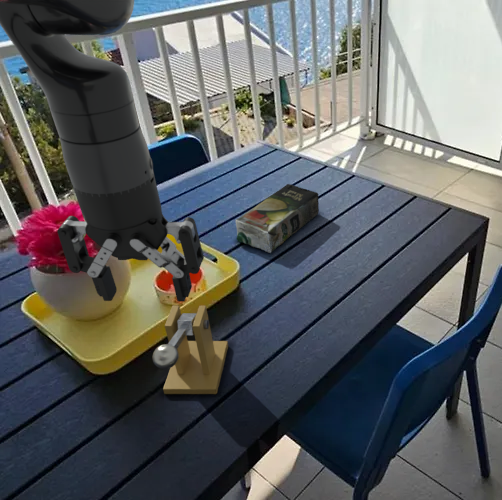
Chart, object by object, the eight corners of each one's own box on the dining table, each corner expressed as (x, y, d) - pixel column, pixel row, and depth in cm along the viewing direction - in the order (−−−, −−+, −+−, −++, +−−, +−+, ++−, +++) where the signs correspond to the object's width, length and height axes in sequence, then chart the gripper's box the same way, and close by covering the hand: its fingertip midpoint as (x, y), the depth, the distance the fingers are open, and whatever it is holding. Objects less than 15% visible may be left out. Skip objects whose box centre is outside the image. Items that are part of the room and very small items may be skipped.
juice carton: (269, 256, 105) (266, 232, 101) (233, 243, 109) (229, 219, 105) (320, 214, 119) (320, 192, 116) (287, 204, 123) (285, 181, 120)
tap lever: (175, 373, 64) (173, 351, 63) (149, 373, 64) (147, 351, 63) (201, 330, 76) (200, 310, 76) (180, 329, 76) (178, 310, 75)
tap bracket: (216, 394, 77) (205, 340, 70) (164, 394, 76) (147, 340, 69) (228, 345, 85) (219, 293, 78) (181, 345, 84) (167, 292, 77)
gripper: (19, 190, 46) (72, 318, 56) (175, 192, 47) (201, 319, 56) (56, 155, 52) (98, 276, 62) (194, 157, 53) (214, 277, 62)
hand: (147, 296), depth 59 cm, fingers open, 8 cm apart
